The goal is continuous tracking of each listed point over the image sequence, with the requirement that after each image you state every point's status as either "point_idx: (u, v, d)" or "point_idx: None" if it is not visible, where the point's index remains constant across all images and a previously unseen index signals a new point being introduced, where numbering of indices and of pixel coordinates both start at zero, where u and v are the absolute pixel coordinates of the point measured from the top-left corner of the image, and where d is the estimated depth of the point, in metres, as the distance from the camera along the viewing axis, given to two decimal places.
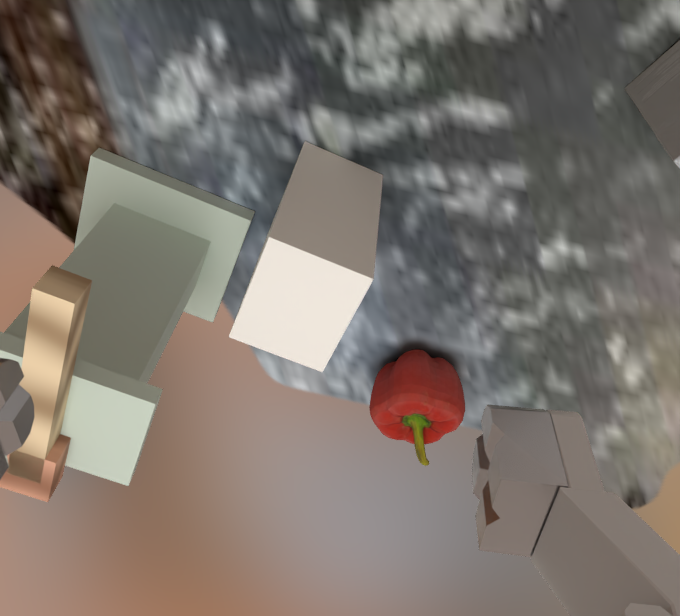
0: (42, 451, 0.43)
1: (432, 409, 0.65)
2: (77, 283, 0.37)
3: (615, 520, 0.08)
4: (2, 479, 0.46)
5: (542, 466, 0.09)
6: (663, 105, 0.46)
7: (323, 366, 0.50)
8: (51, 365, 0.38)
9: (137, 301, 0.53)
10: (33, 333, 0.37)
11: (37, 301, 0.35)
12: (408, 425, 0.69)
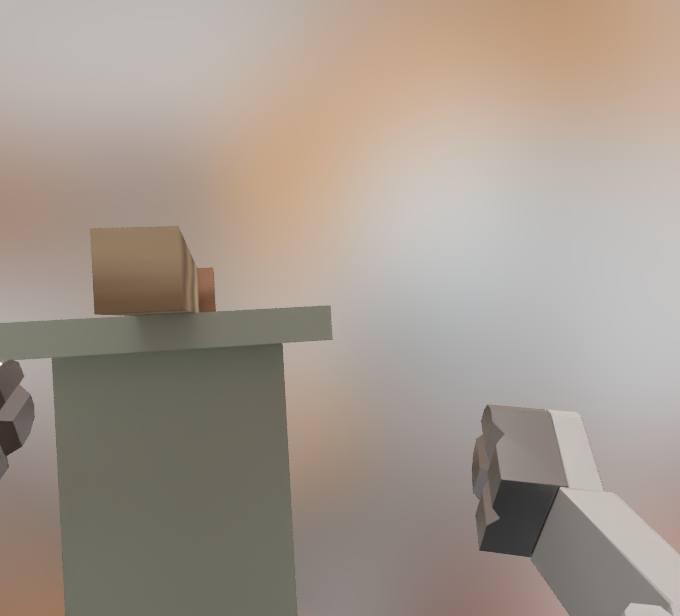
0: None
1: None
2: (115, 289, 0.18)
3: (615, 520, 0.08)
4: None
5: (542, 466, 0.09)
6: None
7: None
8: None
9: (138, 579, 0.28)
10: None
11: None
12: None
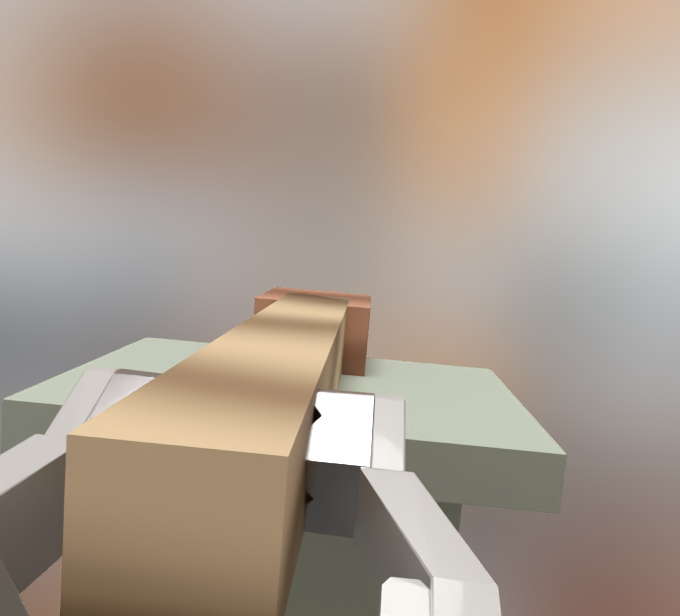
0: (281, 303, 0.21)
1: None
2: (113, 591, 0.07)
3: (404, 498, 0.08)
4: (357, 296, 0.25)
5: (349, 447, 0.09)
6: None
7: None
8: (238, 349, 0.12)
9: None
10: (291, 380, 0.10)
11: (266, 429, 0.07)
12: None
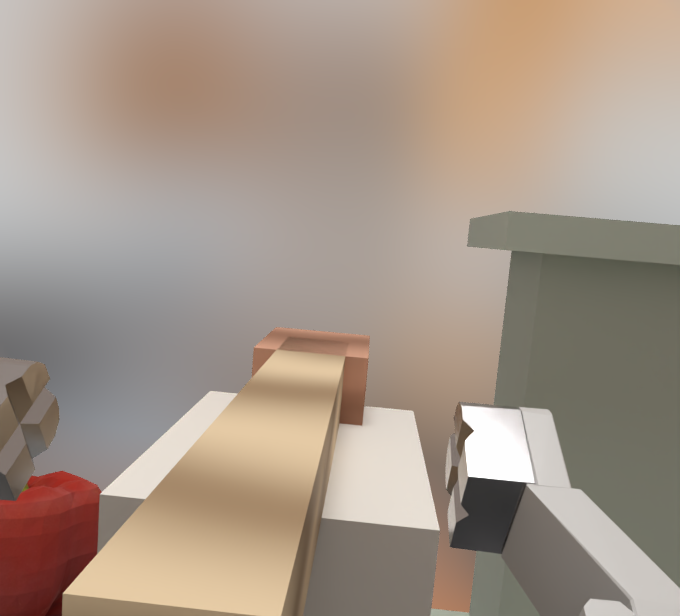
0: (279, 354, 0.21)
1: None
2: None
3: (579, 517, 0.08)
4: (356, 338, 0.26)
5: (510, 463, 0.09)
6: None
7: (209, 395, 0.24)
8: (234, 438, 0.12)
9: (586, 489, 0.27)
10: (286, 488, 0.10)
11: (259, 573, 0.08)
12: None
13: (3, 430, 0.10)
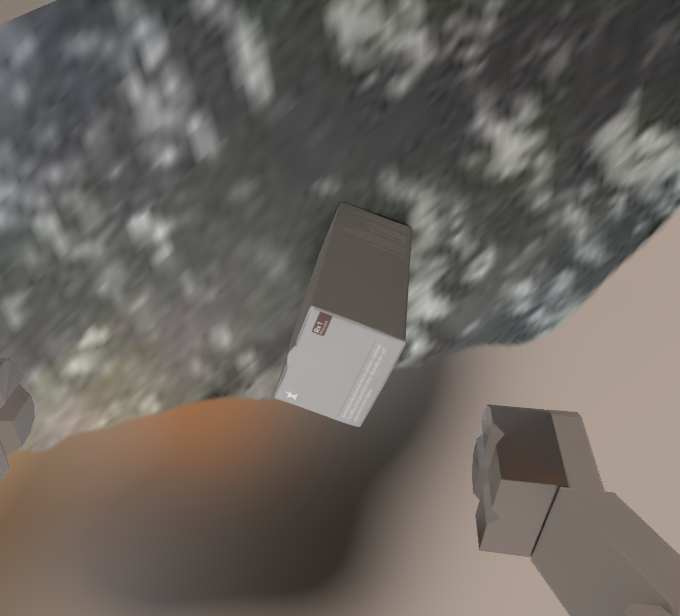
0: None
1: None
2: None
3: (615, 521, 0.08)
4: None
5: (542, 466, 0.09)
6: (348, 253, 0.43)
7: None
8: None
9: None
10: None
11: None
12: None
13: None
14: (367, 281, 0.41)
